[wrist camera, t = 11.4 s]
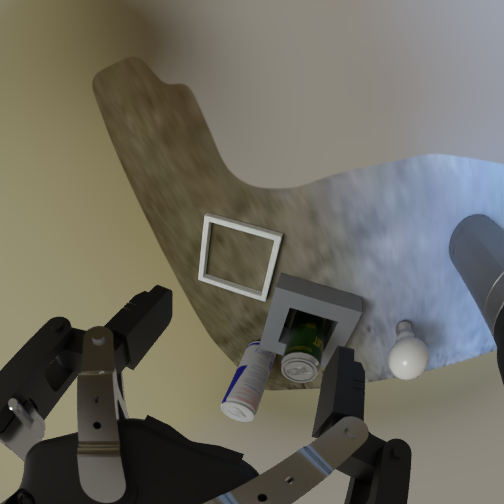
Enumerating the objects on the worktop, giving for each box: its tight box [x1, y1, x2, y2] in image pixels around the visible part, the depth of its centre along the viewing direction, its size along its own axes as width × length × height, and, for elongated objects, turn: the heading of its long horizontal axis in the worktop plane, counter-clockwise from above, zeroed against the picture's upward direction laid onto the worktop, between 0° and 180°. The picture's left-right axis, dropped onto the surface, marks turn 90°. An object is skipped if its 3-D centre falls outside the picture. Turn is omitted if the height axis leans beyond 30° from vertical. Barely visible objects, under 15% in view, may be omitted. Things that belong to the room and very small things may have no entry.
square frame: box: [198, 213, 283, 302], centre depth 44 cm, size 12×12×1 cm
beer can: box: [281, 310, 327, 383], centre depth 41 cm, size 5×5×12 cm
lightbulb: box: [388, 321, 429, 380], centre depth 37 cm, size 6×6×11 cm
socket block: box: [259, 273, 362, 368], centre depth 44 cm, size 13×13×4 cm
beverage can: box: [221, 341, 276, 422], centre depth 46 cm, size 6×6×15 cm
